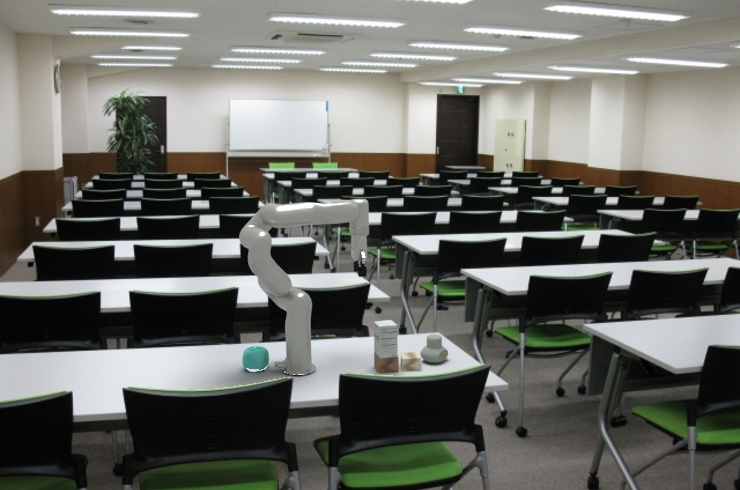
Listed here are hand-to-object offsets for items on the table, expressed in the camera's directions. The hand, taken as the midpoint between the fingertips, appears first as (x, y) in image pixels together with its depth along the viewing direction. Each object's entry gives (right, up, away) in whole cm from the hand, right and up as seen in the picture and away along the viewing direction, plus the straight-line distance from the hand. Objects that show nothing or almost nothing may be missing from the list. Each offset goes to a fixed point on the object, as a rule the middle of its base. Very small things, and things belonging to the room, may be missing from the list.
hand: (360, 273), depth 286 cm
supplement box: (+10, -31, -9) cm, 34 cm away
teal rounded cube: (-40, -37, -5) cm, 54 cm away
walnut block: (+10, -36, -7) cm, 38 cm away
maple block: (+19, -36, -6) cm, 41 cm away
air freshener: (+29, -35, +1) cm, 45 cm away
